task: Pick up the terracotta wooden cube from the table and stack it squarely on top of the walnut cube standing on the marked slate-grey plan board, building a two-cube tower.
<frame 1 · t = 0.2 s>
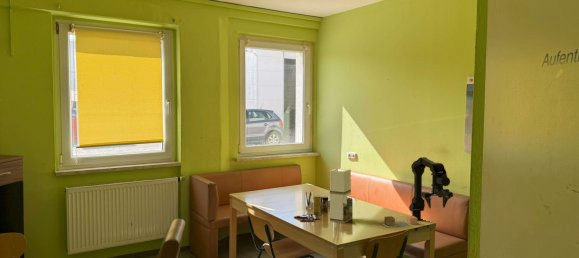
hand: (436, 208, 269), 14 cm above the table, tool pointing down, fingers open, 9 cm apart
display case: (340, 220, 297), on the table
terracotta cube: (411, 224, 284), on the table
plan board: (395, 226, 281), on the table
walnut cube: (389, 224, 280), point 1 cm above the table, touching plan board
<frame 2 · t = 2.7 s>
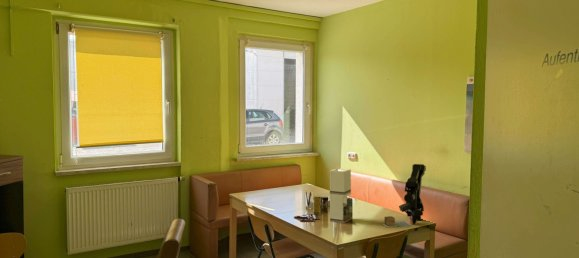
hand: (411, 223, 284), 1 cm above the table, tool pointing down, fingers closed on terracotta cube, 5 cm apart
terracotta cube: (411, 224, 284), on the table, touching gripper
everything else where it was.
when the fingers open (8 cm above the table, at t = 6.1 s): terracotta cube stays where it is, resting on walnut cube.
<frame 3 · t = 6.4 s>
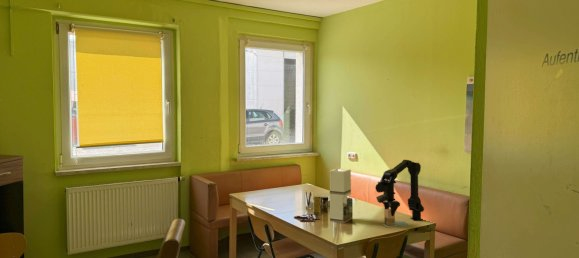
hand: (389, 214, 280), 8 cm above the table, tool pointing down, fingers open, 8 cm apart
terracotta cube: (389, 217, 280), point 6 cm above the table, touching walnut cube
walnut cube: (389, 224, 280), point 1 cm above the table, touching plan board, terracotta cube
everything else where it was.
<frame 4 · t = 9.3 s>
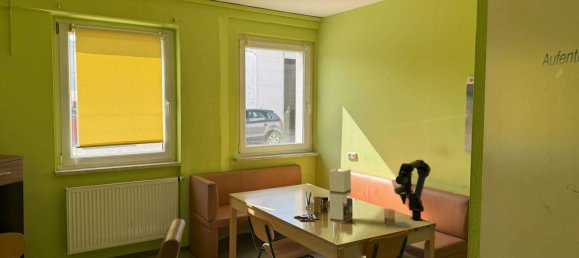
hand: (407, 205, 286), 12 cm above the table, tool pointing down, fingers open, 9 cm apart
nothing on the table moved.
at the end: terracotta cube 0.1 cm off-centre on the walnut cube, point 5.0 cm above the walnut cube's base; terracotta cube tilted 0°; the gripper is holding nothing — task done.
